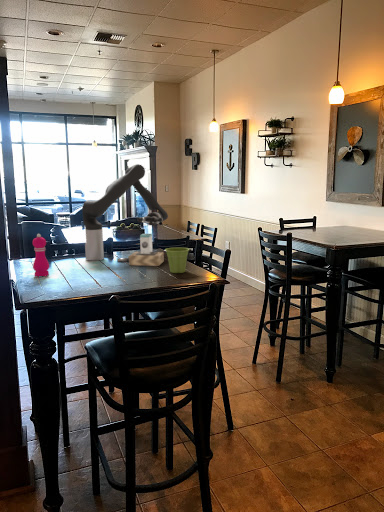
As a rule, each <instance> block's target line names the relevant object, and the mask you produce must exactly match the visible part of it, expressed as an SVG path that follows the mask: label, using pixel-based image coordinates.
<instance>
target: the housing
mask: <svg viewBox="0 0 384 512" xmlns="http://www.w3.org/2000/svg"><path fill="white" fill-rule="evenodd" d="M139 242H140V243H139V244H140V245H139V246H140V252H141V254H151V253H152V252H153V233H142V234H140V235H139Z"/></svg>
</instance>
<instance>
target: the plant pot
mask: <svg viewBox="0 0 384 512" xmlns="http://www.w3.org/2000/svg"><path fill="white" fill-rule="evenodd" d="M164 251H165V252H166V256H167V260H168V262H167V263H168V266H169V272H170V273H171V274H182V273H185V272H186V267H187V261H188V260H187V259H188V255H189V251H190V248H188V247H169V248H165V249H164Z"/></svg>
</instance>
